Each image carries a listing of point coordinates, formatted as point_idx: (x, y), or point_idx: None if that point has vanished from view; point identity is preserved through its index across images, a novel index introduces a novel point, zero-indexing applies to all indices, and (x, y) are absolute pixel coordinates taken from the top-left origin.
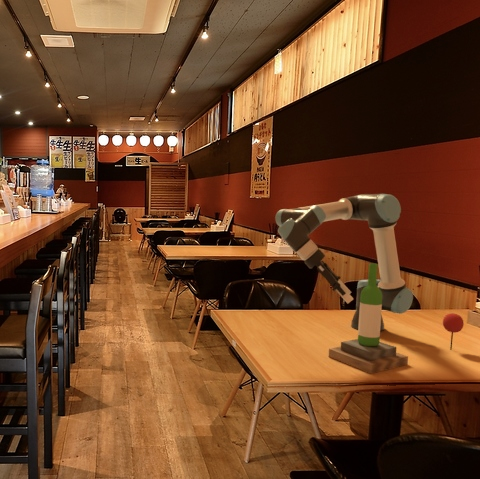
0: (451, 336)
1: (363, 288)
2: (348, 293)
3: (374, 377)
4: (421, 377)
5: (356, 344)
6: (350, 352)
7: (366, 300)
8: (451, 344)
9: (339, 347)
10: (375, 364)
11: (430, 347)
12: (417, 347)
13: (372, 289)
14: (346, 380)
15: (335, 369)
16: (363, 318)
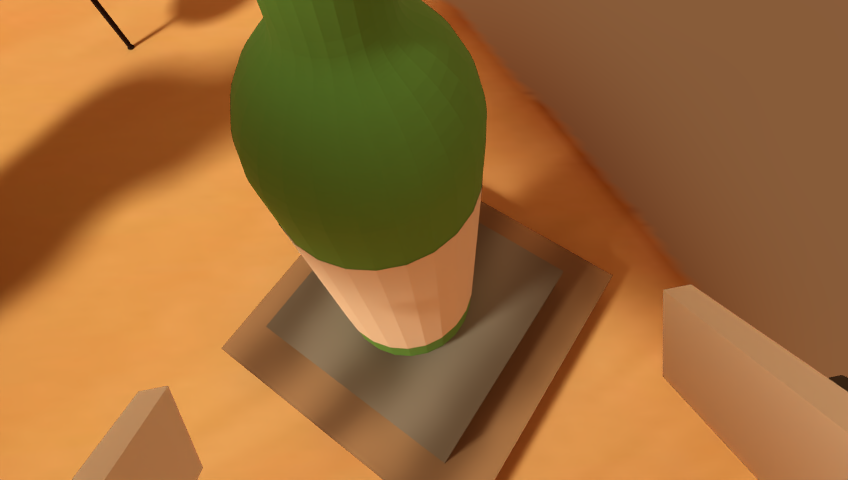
0: (96, 3)
1: (355, 156)
2: (765, 339)
3: (639, 271)
4: (525, 123)
5: (448, 362)
6: (487, 395)
7: (480, 178)
8: (119, 29)
9: (399, 478)
10: (586, 261)
11: (116, 105)
12: (130, 146)
13: (447, 37)
14: None
15: (649, 455)
16: (465, 273)
